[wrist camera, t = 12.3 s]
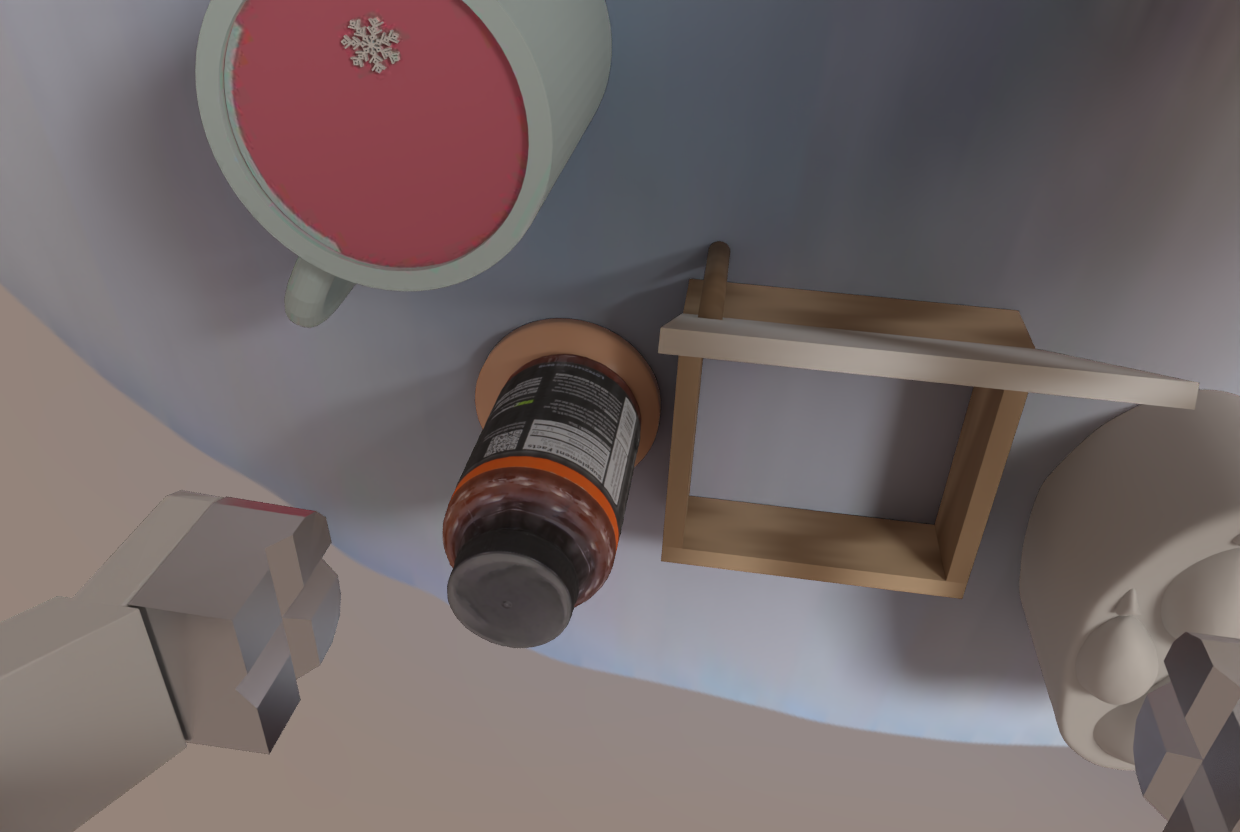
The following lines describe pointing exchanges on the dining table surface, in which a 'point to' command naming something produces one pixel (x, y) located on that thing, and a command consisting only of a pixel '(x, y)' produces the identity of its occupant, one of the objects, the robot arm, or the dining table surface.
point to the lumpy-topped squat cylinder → (1132, 563)
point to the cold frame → (877, 346)
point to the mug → (396, 129)
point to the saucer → (576, 341)
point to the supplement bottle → (541, 500)
